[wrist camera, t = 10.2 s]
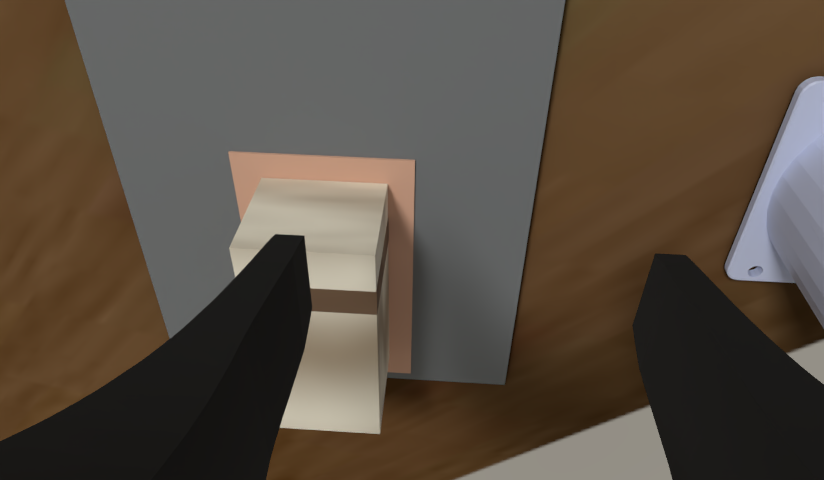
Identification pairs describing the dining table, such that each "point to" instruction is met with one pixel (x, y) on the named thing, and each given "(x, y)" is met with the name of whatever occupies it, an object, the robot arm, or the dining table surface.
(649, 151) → the dining table surface
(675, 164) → the dining table surface
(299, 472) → the dining table surface
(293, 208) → the cream banded block
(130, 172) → the mat
